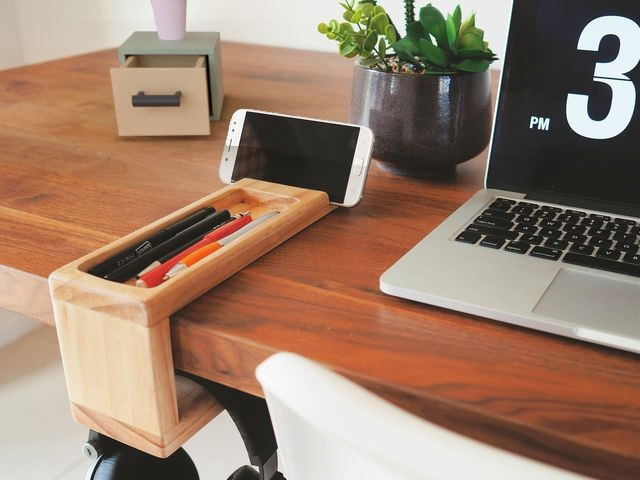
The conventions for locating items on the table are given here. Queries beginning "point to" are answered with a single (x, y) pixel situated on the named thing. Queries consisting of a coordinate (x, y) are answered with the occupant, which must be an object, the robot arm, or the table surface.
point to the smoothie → (170, 18)
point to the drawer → (162, 95)
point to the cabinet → (189, 46)
